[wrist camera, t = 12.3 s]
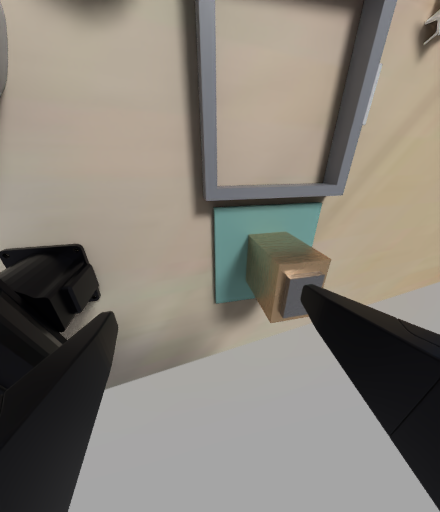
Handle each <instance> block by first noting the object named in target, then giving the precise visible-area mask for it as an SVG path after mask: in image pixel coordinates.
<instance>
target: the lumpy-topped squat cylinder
mask: <svg viewBox="0 0 440 512" xmlns="http://www.w3.org/2000/svg"><path fill="white" fill-rule="evenodd" d="M7 73H8V40H7V27H6V19H5V14H4V11H3V8H2V5H1V2H0V97H1V95H2V92H3V90H4V88H5V85H6V81H7Z"/></svg>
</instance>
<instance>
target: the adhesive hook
mask: <svg viewBox="0 0 440 512" xmlns="http://www.w3.org/2000/svg"><path fill="white" fill-rule="evenodd" d="M436 20H438V22H437V31H436V32H435V33H434V35H433V36H432V37H430V38H429V39H428V40H427V41H426V42H424V45H425V44H426V43H427V42H428V41H430V40H431V39H432V38H433V37H435V36H436V35H437V34H438V36H439V35H440V9H439V10H438V11H437V12H436V13H435V14H434V15H433V16H431V17H430V18H429V19H428V20H427V21H426V22H425V25H426V24H428V23H431V22H433V21H436Z"/></svg>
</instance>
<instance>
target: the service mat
mask: <svg viewBox="0 0 440 512" xmlns="http://www.w3.org/2000/svg"><path fill="white" fill-rule="evenodd" d="M321 206H322V203H320V202H312V203H291V204H270V205H249V206H228V207H214V248H215V298H216V304H217V303H224V302H231V301H238V300H245V299H252V298H256V297H255V296H254V294H253V292H252V291H251V289H250V287H249V285H248V284H247V282H246V266H247V250H248V235H249V234H261V233H273V232H288V233H290V234H291V235H293V236H294V237H296V238H298V239H299V240H301V241H302V242H304V243H306V244H307V245H309V246H311V247H312V244H313V240H314V236H315V231H316V227H317V223H318V219H319V214H320V210H321Z"/></svg>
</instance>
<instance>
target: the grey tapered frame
mask: <svg viewBox="0 0 440 512" xmlns="http://www.w3.org/2000/svg"><path fill="white" fill-rule="evenodd" d="M396 2H397V0H364V4H363V8H362V13H361V17H360V22H359V26H358V30H357V35H356V39H355V44H354V48H353V53H352V57H351V61H350V66H349V70H348V75H347V79H346V83H345V88H344V92H343V97H342V101H341V105H340V110H339V114H338V119H337V123H336V127H335V132H334V136H333V141H332V145H331V149H330V154H329V158H328V163H327V167H326V171H325V176H324V180H323V183H312V184H275V185H238V186H217V128H216V37H215V0H195V15H196V38H197V61H198V84H199V107H200V130H201V153H202V176H203V197H204V199H205V200H206V201H215V200H239V199H264V198H288V197H312V196H336V195H343V192H344V189H345V185H346V181H347V178H348V174H349V171H350V167H351V163H352V160H353V156H354V153H355V149H356V146H357V142H358V138H359V135H360V131H361V128H362V125H365V124H366V120H367V117H368V113H369V110H370V106H371V103H372V99H373V96H374V92H375V89H376V85H377V82H378V78H379V75H380V71H381V68H382V64H380V60H381V56H382V52H383V49H384V45H385V42H386V38H387V34H388V31H389V27H390V24H391V20H392V17H393V13H394V9H395V6H396Z"/></svg>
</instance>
